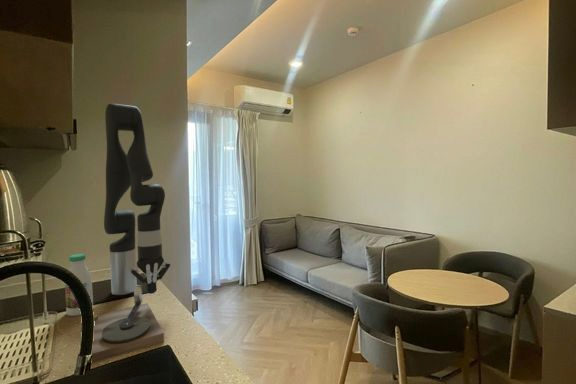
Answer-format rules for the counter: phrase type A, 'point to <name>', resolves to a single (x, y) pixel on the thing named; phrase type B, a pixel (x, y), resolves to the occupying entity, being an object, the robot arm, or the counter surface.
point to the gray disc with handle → (128, 324)
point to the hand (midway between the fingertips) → (151, 292)
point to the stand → (109, 350)
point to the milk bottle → (84, 275)
